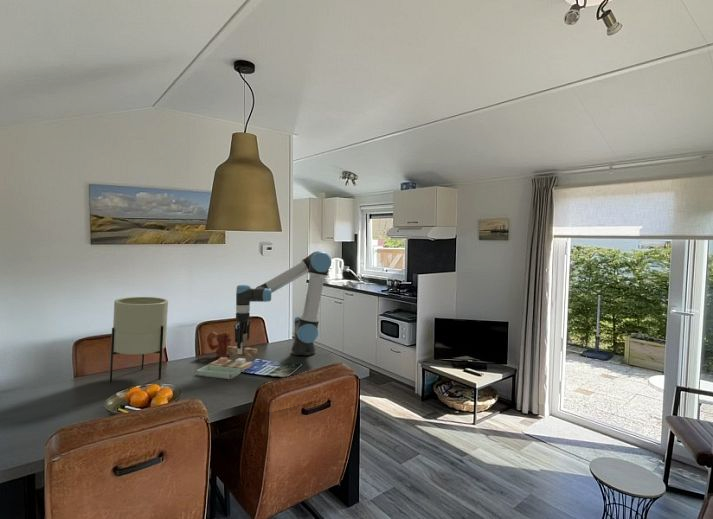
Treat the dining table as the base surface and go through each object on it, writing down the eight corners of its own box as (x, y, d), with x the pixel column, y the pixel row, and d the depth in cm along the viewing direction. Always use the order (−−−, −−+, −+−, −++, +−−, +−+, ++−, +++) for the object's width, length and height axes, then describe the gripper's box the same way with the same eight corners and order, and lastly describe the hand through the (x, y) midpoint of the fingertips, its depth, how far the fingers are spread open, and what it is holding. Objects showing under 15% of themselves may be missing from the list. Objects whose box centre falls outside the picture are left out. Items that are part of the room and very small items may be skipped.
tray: (241, 373, 206) (241, 368, 206) (230, 379, 197) (230, 374, 197) (208, 369, 211) (208, 364, 211) (196, 375, 202) (196, 370, 202)
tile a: (245, 362, 216) (245, 358, 216) (241, 364, 212) (241, 360, 212) (239, 361, 217) (239, 358, 217) (235, 363, 213) (235, 360, 213)
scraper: (257, 355, 225) (258, 334, 225) (254, 357, 221) (254, 336, 221) (230, 352, 230) (230, 331, 229) (226, 354, 226) (226, 333, 226)
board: (252, 367, 217) (252, 361, 217) (241, 373, 207) (241, 367, 207) (220, 363, 222) (220, 358, 222) (208, 369, 212) (208, 363, 212)
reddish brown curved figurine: (233, 355, 240) (234, 330, 239) (228, 359, 232) (228, 333, 231) (210, 354, 241) (211, 329, 241) (204, 358, 233) (204, 332, 233)
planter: (142, 389, 184) (147, 306, 183) (98, 381, 189) (102, 301, 187) (175, 373, 207) (179, 299, 206) (135, 367, 212) (138, 295, 210)
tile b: (227, 361, 218) (227, 357, 218) (224, 363, 214) (224, 359, 214) (220, 360, 218) (220, 357, 218) (217, 362, 214) (217, 359, 214)
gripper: (244, 309, 234) (244, 348, 235) (228, 313, 217) (227, 356, 218) (256, 310, 232) (255, 349, 233) (240, 314, 216) (239, 357, 216)
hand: (242, 352), depth 225 cm, fingers closed on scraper, 4 cm apart
